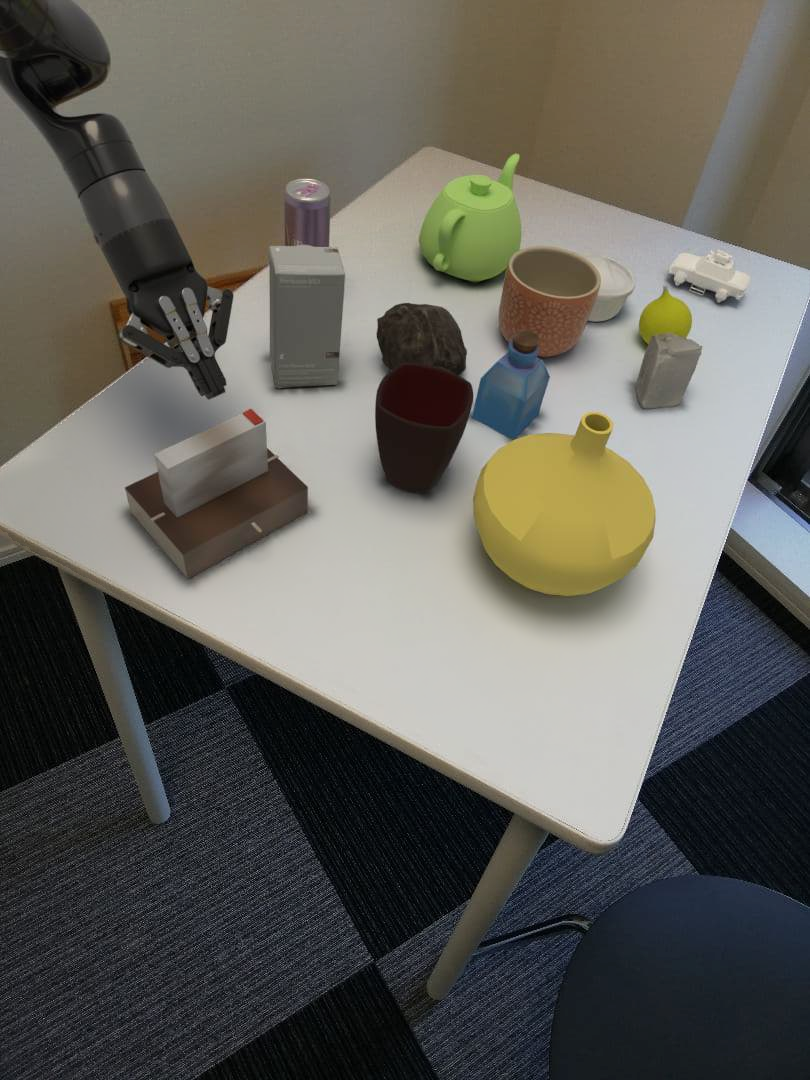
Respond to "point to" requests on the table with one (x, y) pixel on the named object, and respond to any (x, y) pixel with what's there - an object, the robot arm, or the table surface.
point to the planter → (548, 296)
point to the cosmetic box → (305, 314)
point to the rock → (421, 337)
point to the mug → (420, 423)
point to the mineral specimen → (666, 370)
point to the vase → (564, 510)
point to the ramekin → (610, 286)
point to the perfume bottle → (513, 387)
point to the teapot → (473, 226)
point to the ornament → (665, 317)
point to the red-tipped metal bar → (212, 462)
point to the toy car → (711, 274)
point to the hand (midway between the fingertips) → (217, 395)
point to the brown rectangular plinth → (219, 516)
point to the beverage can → (307, 213)
